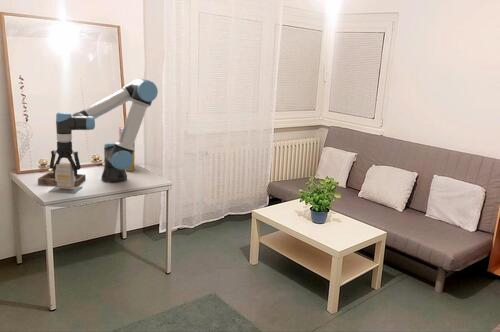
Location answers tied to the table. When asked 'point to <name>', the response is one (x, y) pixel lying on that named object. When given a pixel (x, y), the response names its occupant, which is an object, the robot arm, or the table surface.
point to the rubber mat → (65, 190)
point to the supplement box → (64, 175)
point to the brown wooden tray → (50, 180)
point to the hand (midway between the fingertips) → (65, 181)
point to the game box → (133, 152)
